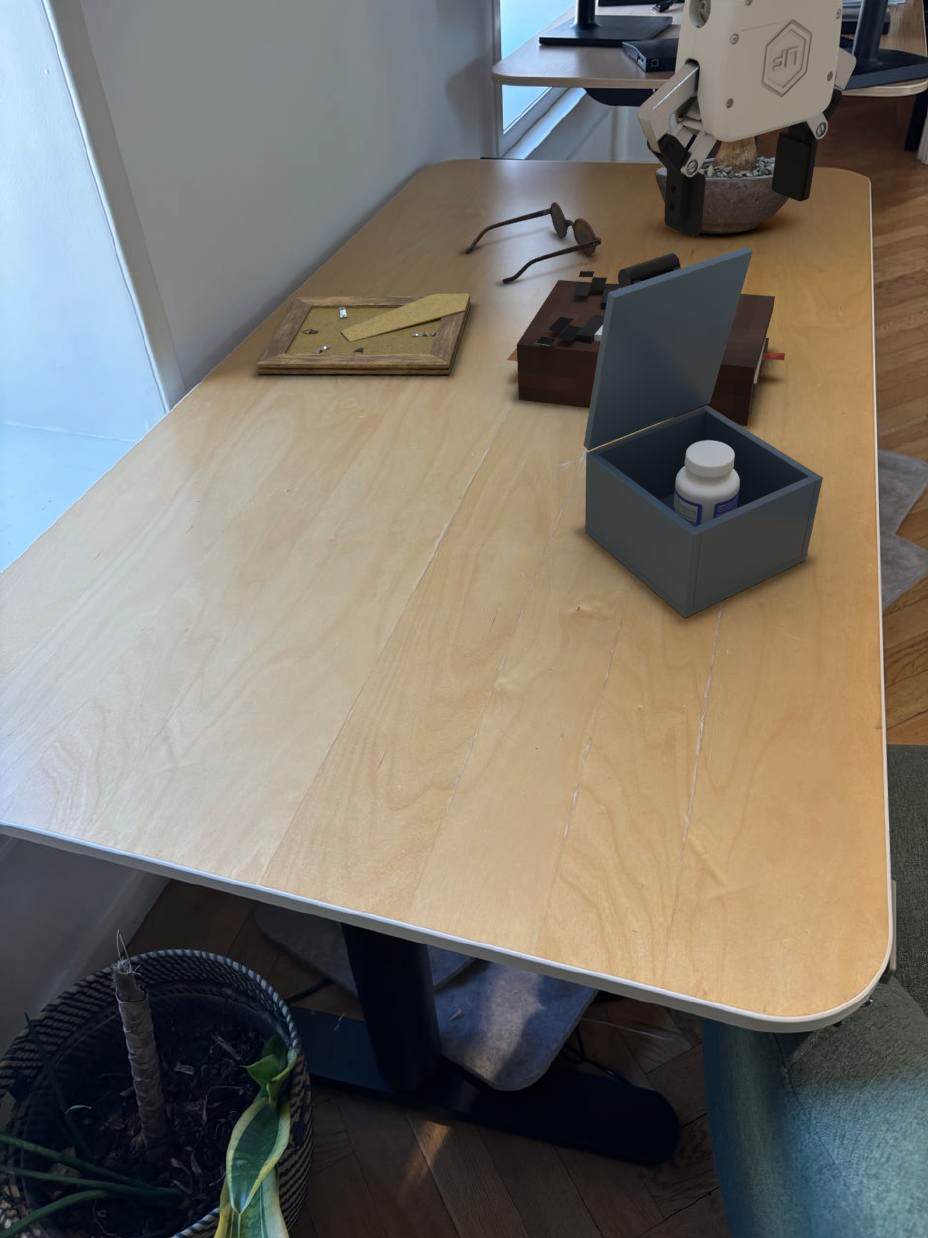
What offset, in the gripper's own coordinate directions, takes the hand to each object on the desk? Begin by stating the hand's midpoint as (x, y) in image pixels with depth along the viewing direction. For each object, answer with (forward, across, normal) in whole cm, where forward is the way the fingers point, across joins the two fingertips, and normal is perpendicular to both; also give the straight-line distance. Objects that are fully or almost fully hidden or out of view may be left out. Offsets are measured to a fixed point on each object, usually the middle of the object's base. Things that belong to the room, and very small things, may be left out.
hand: (737, 212), depth 69 cm
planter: (+31, +51, +56) cm, 82 cm away
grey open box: (+30, 0, +1) cm, 30 cm away
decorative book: (+31, +16, +29) cm, 45 cm away
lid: (+14, 0, +6) cm, 15 cm away
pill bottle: (+30, 0, 0) cm, 30 cm away
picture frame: (+31, -6, +57) cm, 65 cm away
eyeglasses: (+31, +24, +66) cm, 77 cm away
